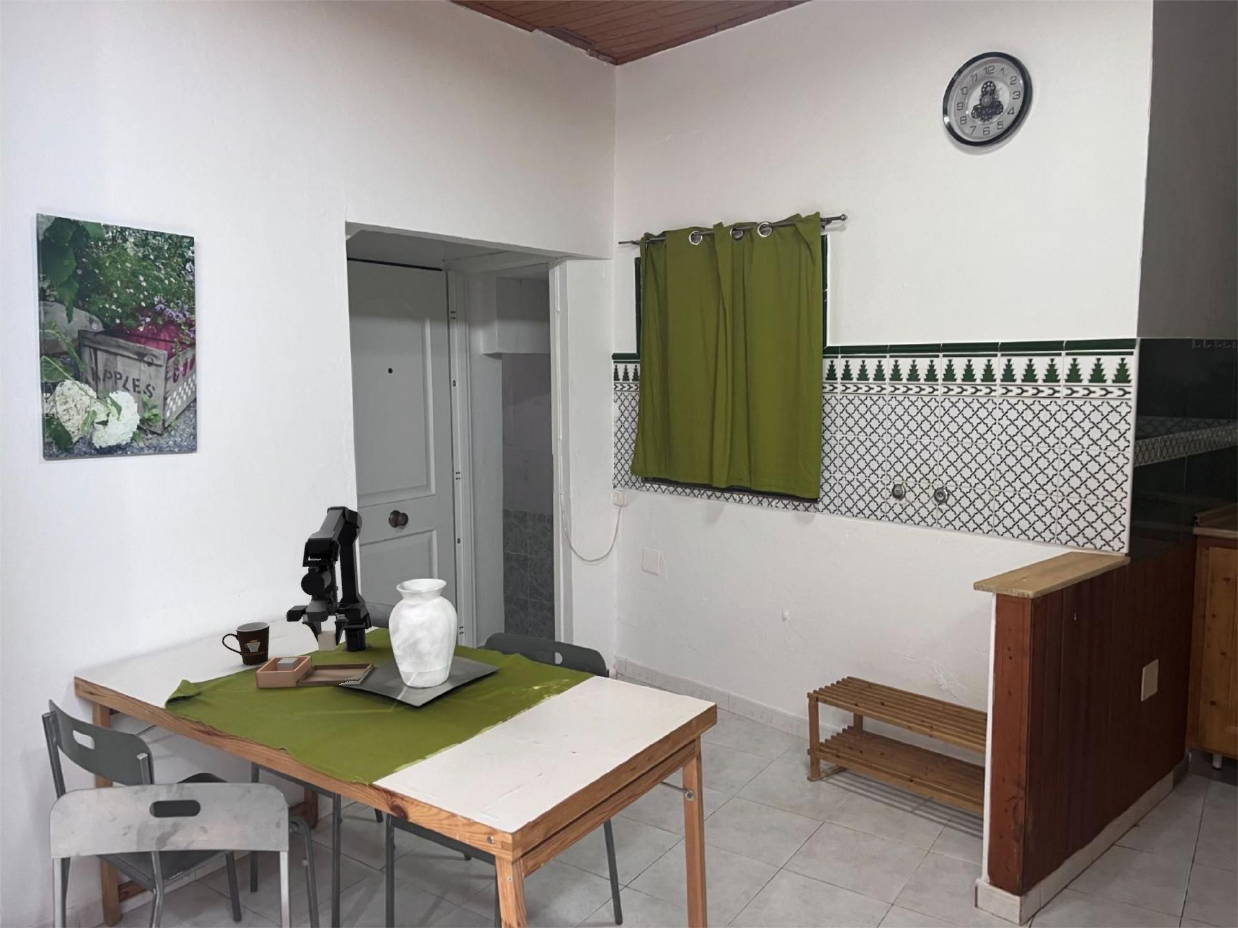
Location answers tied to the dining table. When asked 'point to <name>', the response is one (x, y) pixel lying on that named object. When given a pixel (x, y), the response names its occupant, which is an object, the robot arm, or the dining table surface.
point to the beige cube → (327, 640)
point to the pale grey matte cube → (288, 664)
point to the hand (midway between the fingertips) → (329, 645)
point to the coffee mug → (252, 642)
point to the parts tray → (332, 674)
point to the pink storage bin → (281, 673)
